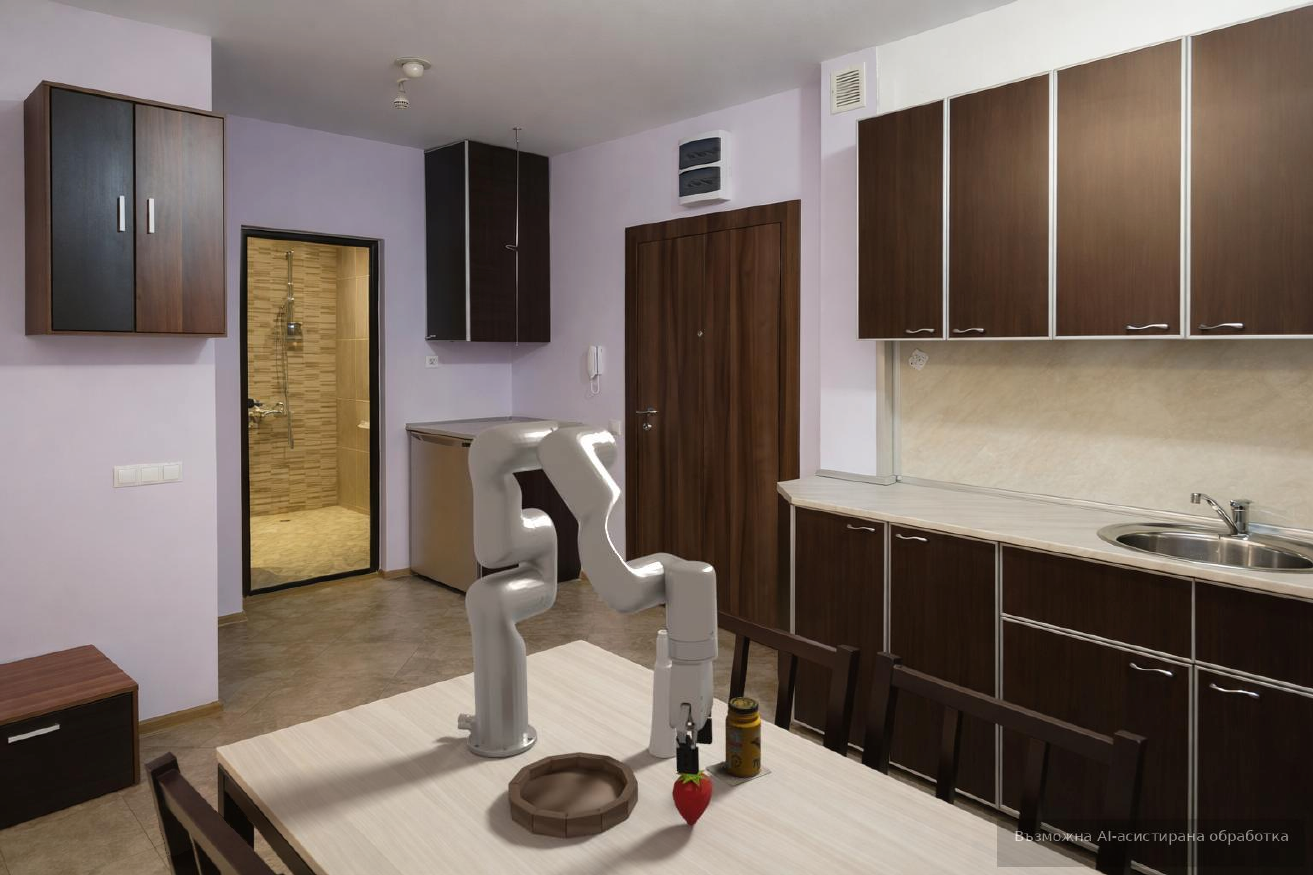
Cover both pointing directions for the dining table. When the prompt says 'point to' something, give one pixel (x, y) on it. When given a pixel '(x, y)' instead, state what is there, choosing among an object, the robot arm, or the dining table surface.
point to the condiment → (741, 743)
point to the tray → (572, 794)
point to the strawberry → (692, 795)
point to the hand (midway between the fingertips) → (695, 757)
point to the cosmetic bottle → (662, 703)
